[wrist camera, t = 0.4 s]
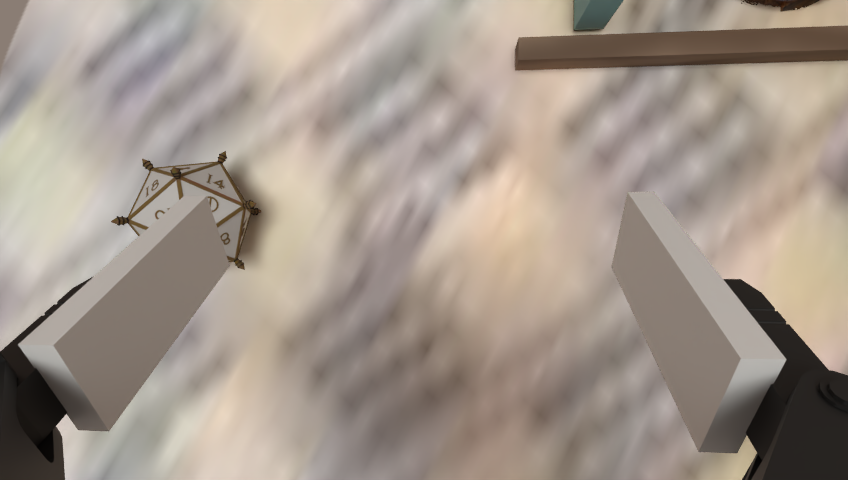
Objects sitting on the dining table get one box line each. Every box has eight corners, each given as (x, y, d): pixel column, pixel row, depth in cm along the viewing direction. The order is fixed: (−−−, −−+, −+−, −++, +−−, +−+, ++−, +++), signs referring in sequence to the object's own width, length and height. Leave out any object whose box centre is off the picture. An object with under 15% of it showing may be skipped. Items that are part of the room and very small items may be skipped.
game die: (245, 194, 39) (220, 102, 31) (289, 270, 36) (274, 189, 28) (132, 236, 35) (70, 143, 27) (170, 324, 32) (112, 249, 24)
